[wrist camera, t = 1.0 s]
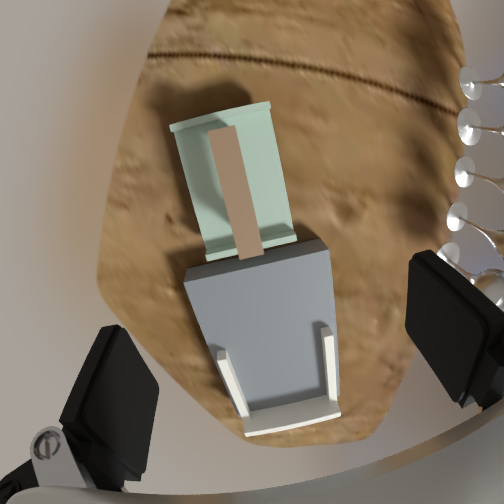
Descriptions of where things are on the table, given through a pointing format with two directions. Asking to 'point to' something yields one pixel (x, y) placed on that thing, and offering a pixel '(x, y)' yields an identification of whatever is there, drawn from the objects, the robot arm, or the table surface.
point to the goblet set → (469, 128)
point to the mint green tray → (235, 181)
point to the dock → (272, 334)
